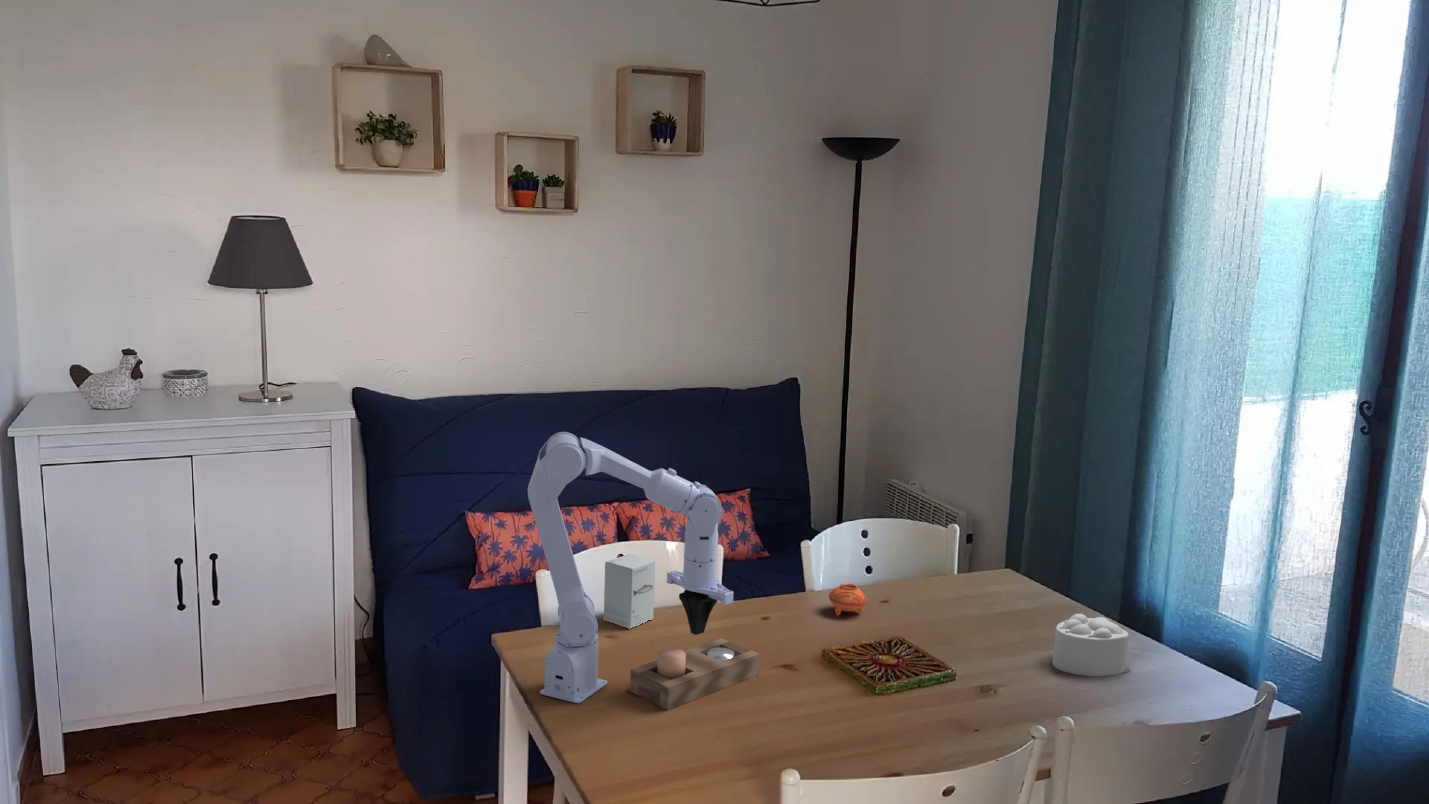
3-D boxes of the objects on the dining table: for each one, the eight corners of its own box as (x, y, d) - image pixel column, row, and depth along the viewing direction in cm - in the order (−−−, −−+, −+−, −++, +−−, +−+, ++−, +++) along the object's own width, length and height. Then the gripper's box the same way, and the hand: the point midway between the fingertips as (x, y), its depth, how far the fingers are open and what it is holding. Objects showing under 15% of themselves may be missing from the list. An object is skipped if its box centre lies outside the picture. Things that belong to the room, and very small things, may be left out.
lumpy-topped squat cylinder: (1132, 673, 203) (1137, 628, 202) (1071, 679, 200) (1075, 634, 198) (1098, 651, 213) (1102, 609, 212) (1039, 657, 210) (1043, 613, 208)
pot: (819, 607, 232) (827, 576, 231) (851, 612, 234) (859, 582, 234) (834, 619, 224) (843, 587, 224) (868, 625, 227) (876, 593, 226)
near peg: (670, 683, 184) (670, 661, 184) (651, 674, 188) (651, 653, 187) (690, 676, 188) (691, 654, 187) (672, 667, 191) (672, 646, 190)
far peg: (720, 681, 193) (720, 660, 193) (701, 672, 197) (701, 652, 196) (739, 674, 197) (739, 653, 196) (720, 665, 200) (720, 645, 199)
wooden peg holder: (667, 710, 181) (668, 687, 181) (630, 691, 188) (630, 669, 187) (758, 674, 197) (759, 653, 196) (720, 658, 203) (721, 638, 203)
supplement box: (630, 630, 216) (631, 568, 214) (602, 621, 220) (603, 560, 218) (654, 620, 221) (656, 560, 219) (627, 611, 226) (628, 552, 224)
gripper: (747, 563, 187) (743, 639, 189) (688, 543, 197) (685, 615, 199) (718, 571, 182) (714, 649, 184) (659, 550, 192) (656, 624, 194)
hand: (697, 632), depth 191 cm, fingers closed
